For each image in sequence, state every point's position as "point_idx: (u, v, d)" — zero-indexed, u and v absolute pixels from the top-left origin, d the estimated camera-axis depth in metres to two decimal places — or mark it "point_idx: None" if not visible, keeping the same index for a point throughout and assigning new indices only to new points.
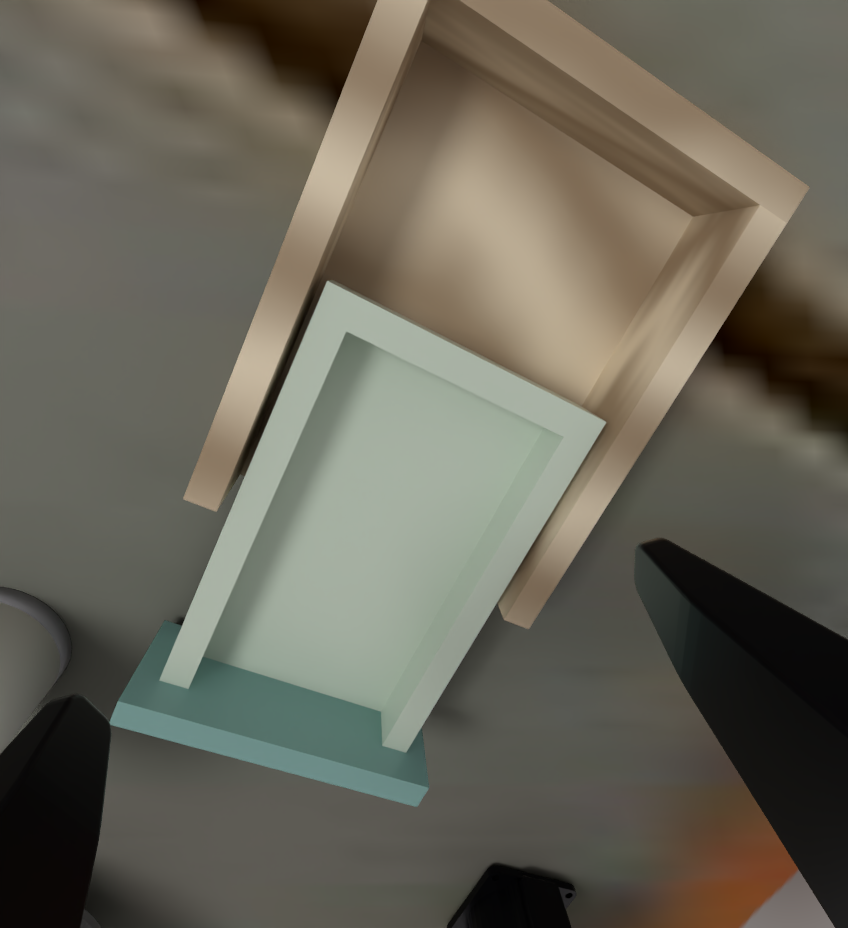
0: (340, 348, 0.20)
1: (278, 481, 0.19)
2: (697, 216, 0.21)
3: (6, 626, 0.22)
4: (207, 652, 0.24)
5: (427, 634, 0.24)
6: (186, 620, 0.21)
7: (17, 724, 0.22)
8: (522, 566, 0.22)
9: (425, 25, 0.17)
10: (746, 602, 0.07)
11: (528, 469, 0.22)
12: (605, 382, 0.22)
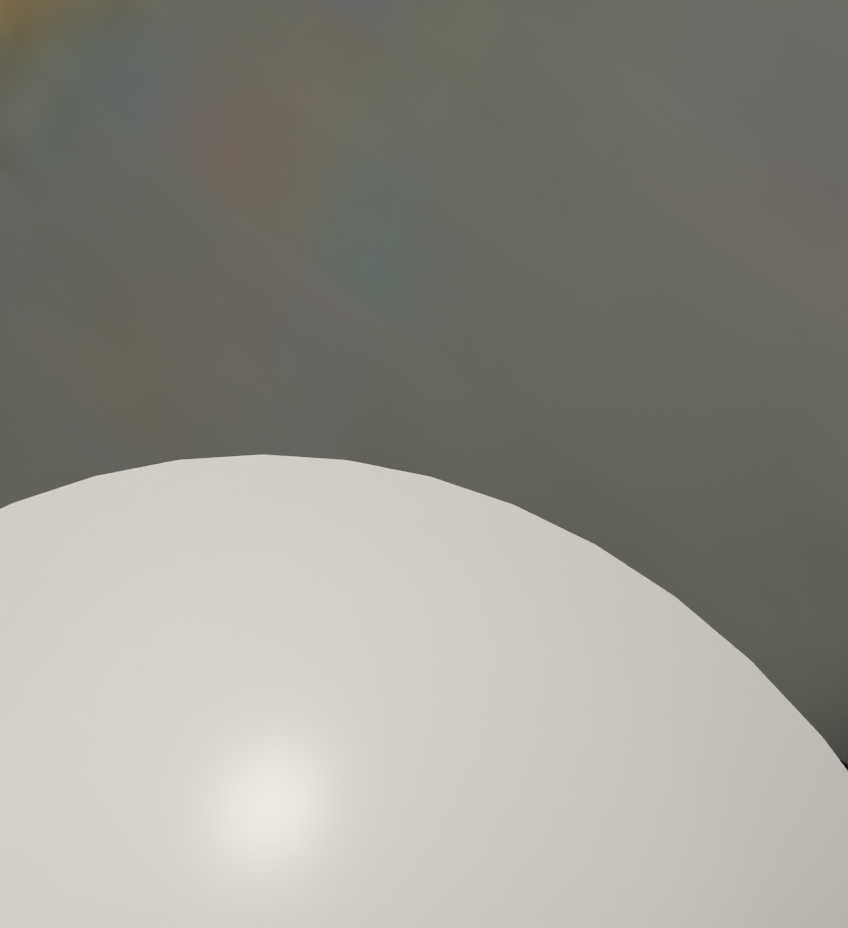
0: None
1: None
2: None
3: None
4: None
5: None
6: None
7: None
8: None
9: None
10: None
11: None
12: None
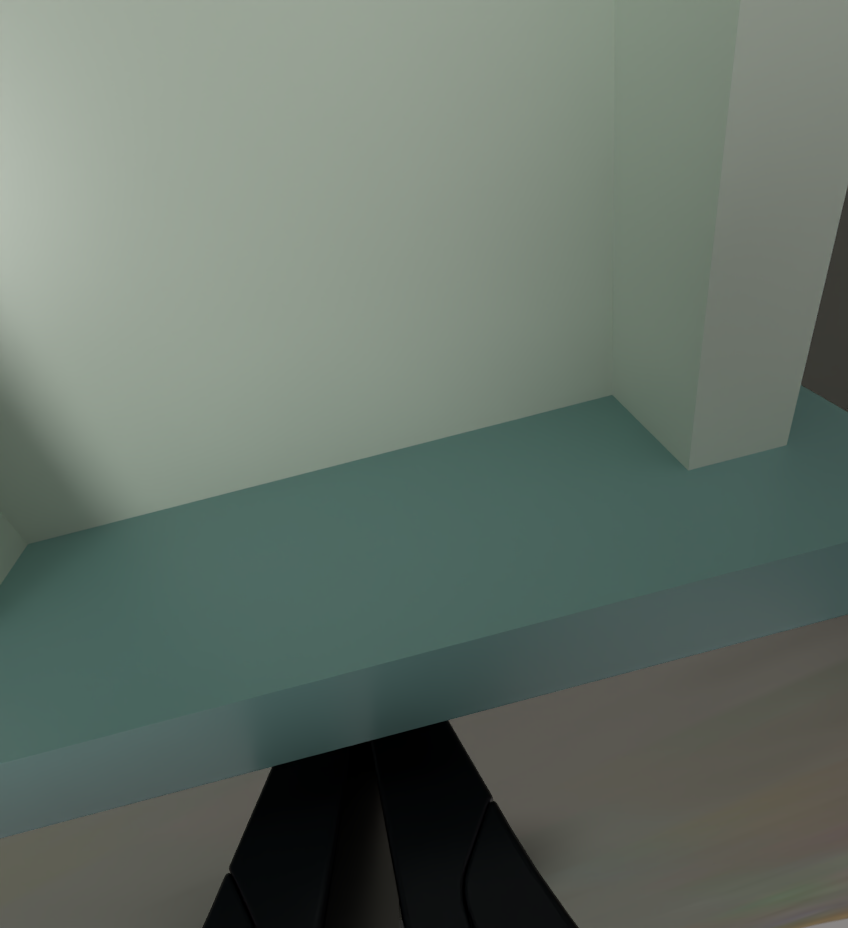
0: None
1: None
2: None
3: None
4: (23, 527, 0.08)
5: None
6: None
7: None
8: None
9: None
10: None
11: None
12: None
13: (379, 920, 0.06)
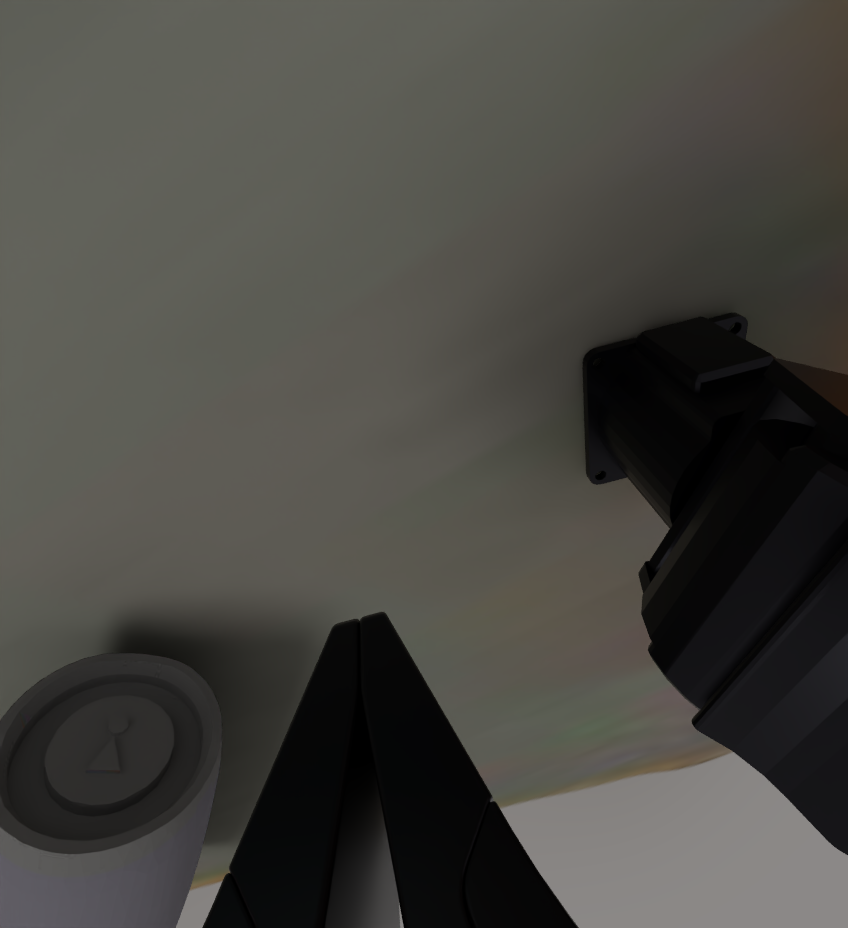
0: None
1: None
2: None
3: None
4: None
5: None
6: None
7: None
8: None
9: None
10: (402, 694, 0.07)
11: None
12: None
13: (379, 920, 0.06)
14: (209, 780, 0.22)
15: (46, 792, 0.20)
